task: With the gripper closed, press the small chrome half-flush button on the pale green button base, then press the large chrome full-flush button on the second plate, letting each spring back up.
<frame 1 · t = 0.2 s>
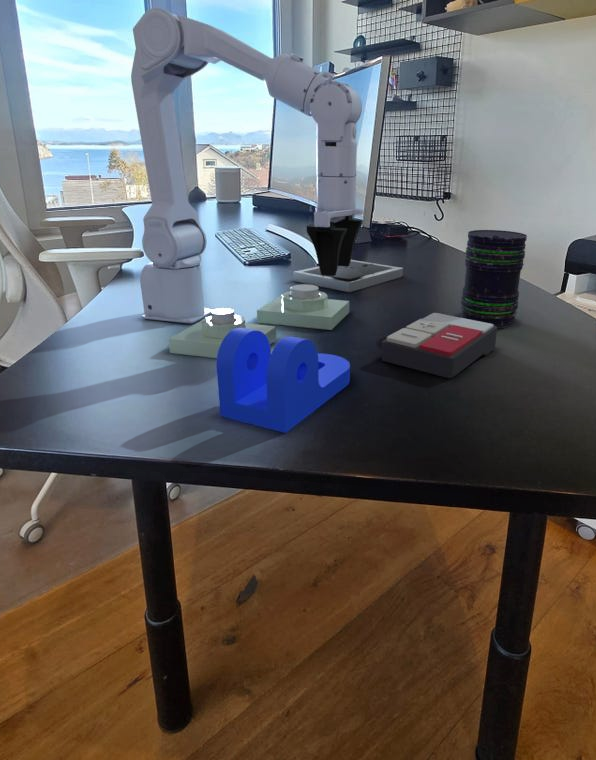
hand: (335, 270, 84), 10 cm above the table, tool pointing down, fingers open, 7 cm apart
half button: (223, 317, 79), point 4 cm above the table, slide at 0.1 cm
bracket: (297, 395, 65), on the table
picture frame: (349, 279, 125), on the table
pale green button base: (225, 346, 80), on the table
storage jar: (487, 321, 97), on the table
full button: (304, 292, 94), point 4 cm above the table, slide at 0.1 cm
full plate: (305, 317, 95), on the table
calculator: (439, 356, 79), on the table
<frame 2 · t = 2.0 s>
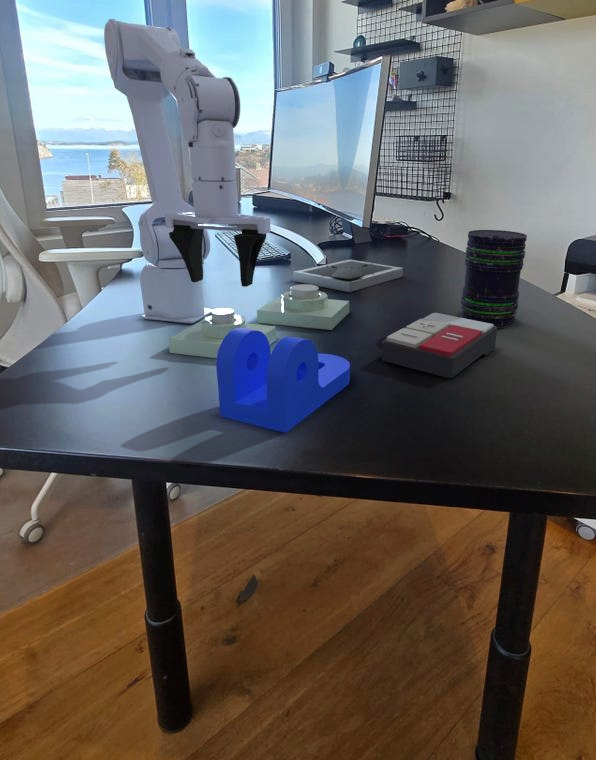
hand: (222, 283, 77), 9 cm above the table, tool pointing down, fingers open, 7 cm apart
nothing on the table moved.
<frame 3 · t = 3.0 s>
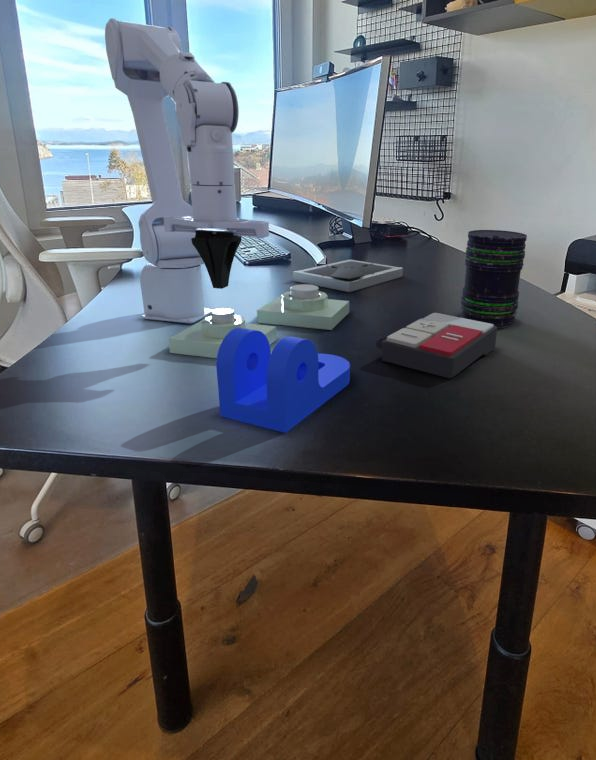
hand: (220, 287, 77), 9 cm above the table, tool pointing down, fingers closed
nothing on the table moved.
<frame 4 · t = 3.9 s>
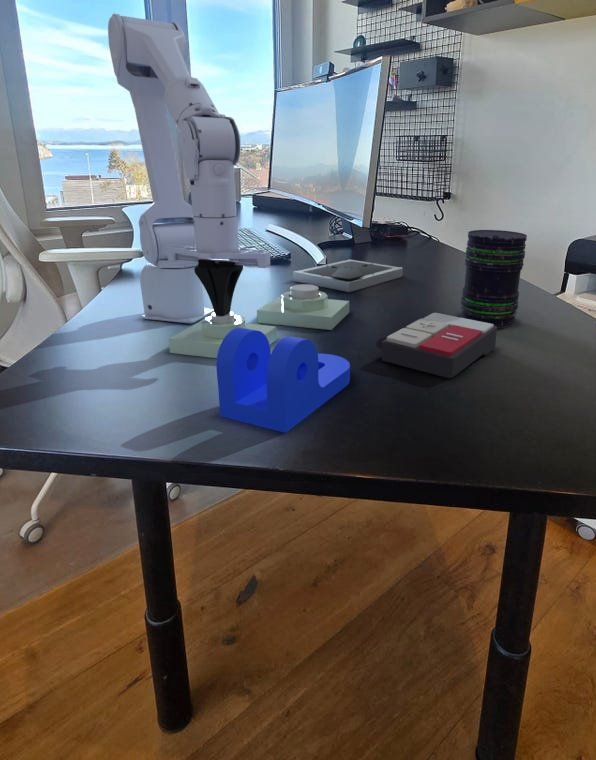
hand: (222, 314, 78), 5 cm above the table, tool pointing down, fingers closed, pressing on half button
half button: (223, 319, 79), point 4 cm above the table, slide at -0.3 cm, touching gripper
everything else where it was.
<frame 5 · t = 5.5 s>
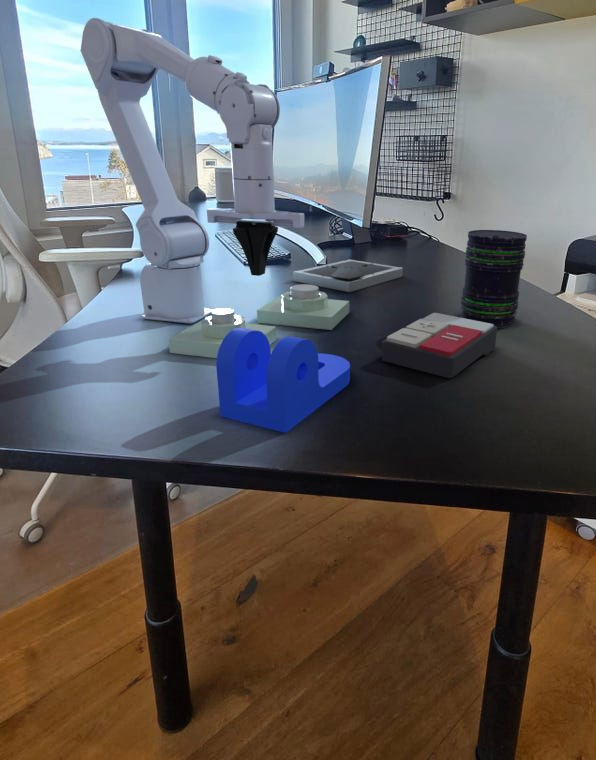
hand: (258, 274, 83), 9 cm above the table, tool pointing down, fingers closed
half button: (223, 317, 79), point 4 cm above the table, slide at 0.1 cm
everything else where it was.
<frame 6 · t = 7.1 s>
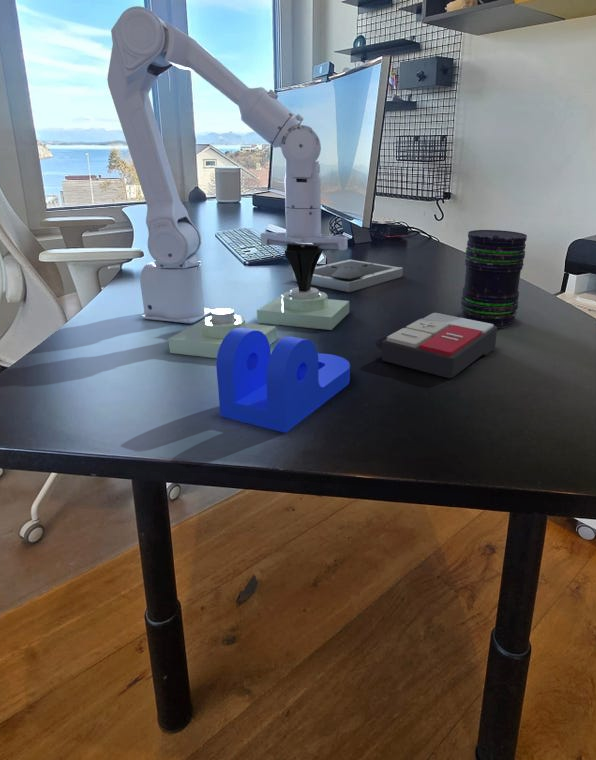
hand: (304, 290, 93), 5 cm above the table, tool pointing down, fingers closed, pressing on full button
full button: (304, 295, 94), point 4 cm above the table, slide at -0.4 cm, touching gripper
everything else where it was.
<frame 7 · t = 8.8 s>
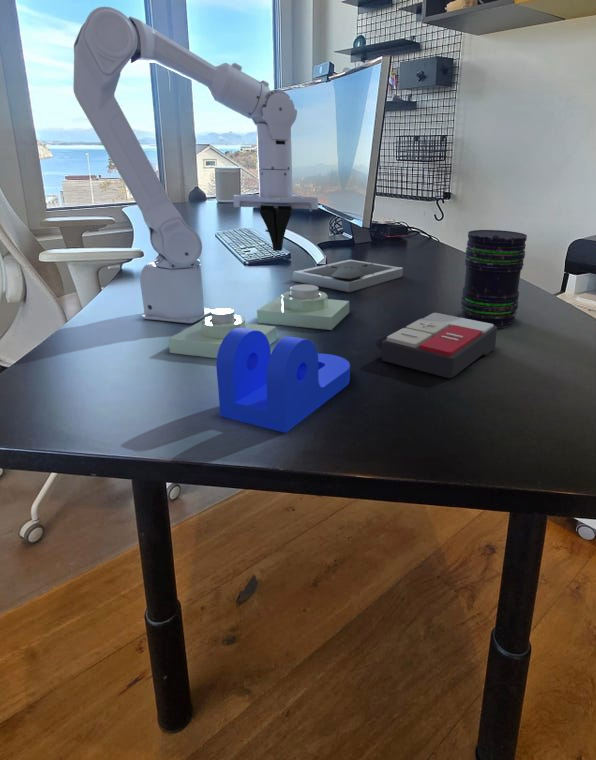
hand: (277, 249, 99), 10 cm above the table, tool pointing down, fingers closed
full button: (304, 292, 94), point 4 cm above the table, slide at 0.1 cm
everything else where it was.
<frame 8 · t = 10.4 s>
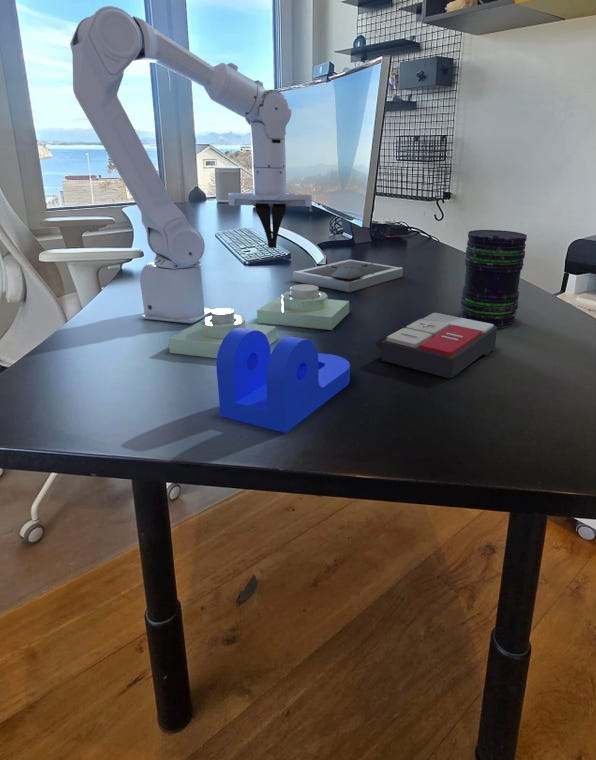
hand: (272, 246, 100), 10 cm above the table, tool pointing down, fingers closed
nothing on the table moved.
at the end: half button pushed in 1.2 cm at the most during the clip, back to where it started at the end; full button pushed in 1.2 cm at the most during the clip, back to where it started at the end; full button slide at 0.1 cm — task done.
